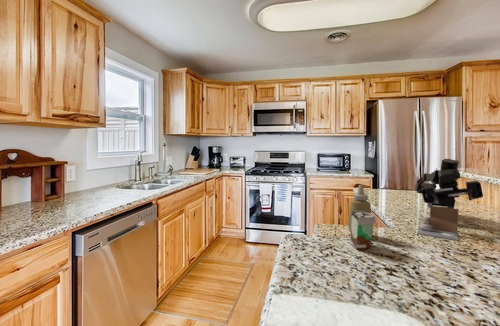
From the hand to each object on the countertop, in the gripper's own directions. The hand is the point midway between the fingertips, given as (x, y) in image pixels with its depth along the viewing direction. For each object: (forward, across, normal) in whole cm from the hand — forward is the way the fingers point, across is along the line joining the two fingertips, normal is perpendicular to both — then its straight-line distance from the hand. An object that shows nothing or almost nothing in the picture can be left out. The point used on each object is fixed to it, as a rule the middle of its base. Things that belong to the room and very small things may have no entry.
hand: (454, 200), depth 96 cm
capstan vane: (+2, -7, +11) cm, 13 cm away
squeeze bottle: (+22, -31, 0) cm, 38 cm away
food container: (+34, -27, -3) cm, 44 cm away
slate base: (+2, -8, +12) cm, 14 cm away
